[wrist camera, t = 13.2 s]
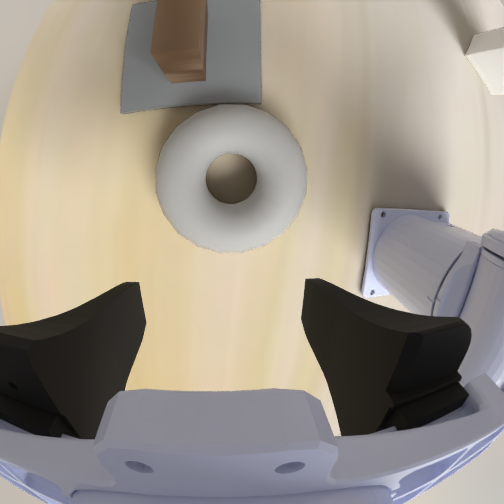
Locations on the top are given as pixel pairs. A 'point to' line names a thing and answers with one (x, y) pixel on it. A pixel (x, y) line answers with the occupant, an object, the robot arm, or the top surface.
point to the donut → (220, 143)
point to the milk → (489, 59)
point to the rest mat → (217, 60)
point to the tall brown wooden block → (181, 39)
